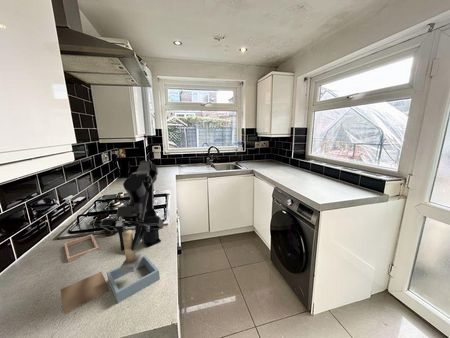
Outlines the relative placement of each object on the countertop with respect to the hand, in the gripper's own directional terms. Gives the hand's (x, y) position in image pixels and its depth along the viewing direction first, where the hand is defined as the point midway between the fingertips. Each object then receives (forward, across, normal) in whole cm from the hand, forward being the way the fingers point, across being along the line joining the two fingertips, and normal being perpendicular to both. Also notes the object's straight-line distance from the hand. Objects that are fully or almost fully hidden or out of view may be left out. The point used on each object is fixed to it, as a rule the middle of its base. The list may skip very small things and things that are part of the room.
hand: (127, 250), depth 60 cm
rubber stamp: (+4, 0, +5) cm, 6 cm away
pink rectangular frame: (-7, -33, +26) cm, 42 cm away
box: (+8, 0, +10) cm, 13 cm away
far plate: (+10, -14, +8) cm, 19 cm away
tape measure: (-16, -27, +36) cm, 48 cm away
